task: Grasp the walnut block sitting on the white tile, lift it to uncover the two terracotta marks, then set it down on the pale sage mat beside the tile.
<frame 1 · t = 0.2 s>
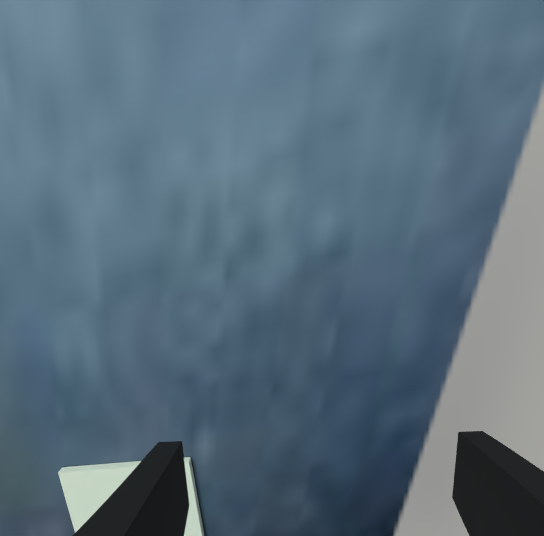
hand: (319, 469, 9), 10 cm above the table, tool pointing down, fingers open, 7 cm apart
sage mat: (138, 514, 21), on the table
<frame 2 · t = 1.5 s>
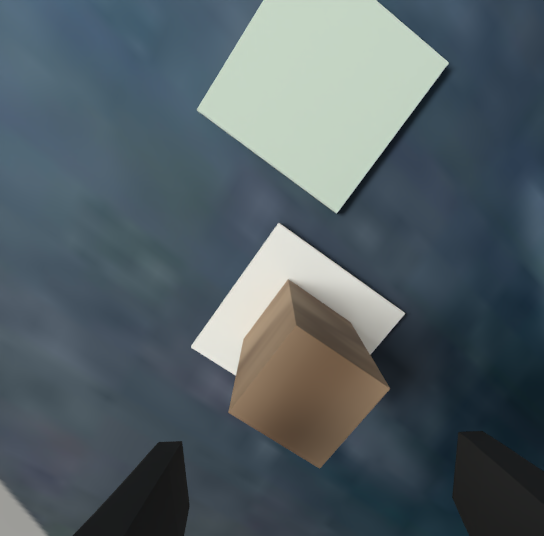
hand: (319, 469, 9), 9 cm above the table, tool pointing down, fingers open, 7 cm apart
sage mat: (319, 89, 15), on the table
white tile: (296, 327, 18), on the table
walnut block: (296, 330, 17), resting on white tile
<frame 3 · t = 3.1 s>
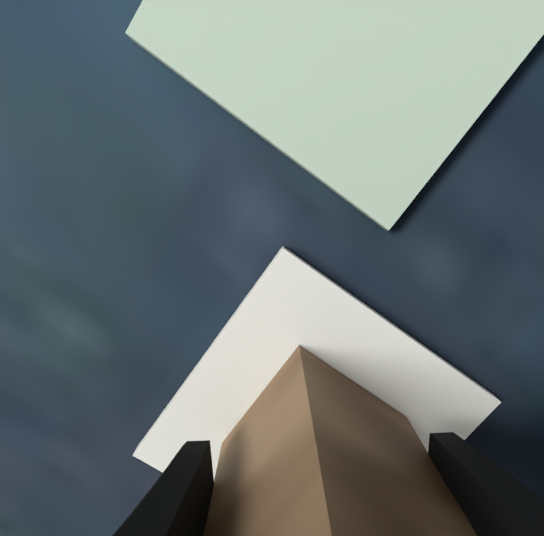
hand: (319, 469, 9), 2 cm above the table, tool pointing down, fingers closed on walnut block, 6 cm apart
white tile: (311, 420, 11), on the table
walnut block: (313, 429, 10), resting on white tile, touching gripper
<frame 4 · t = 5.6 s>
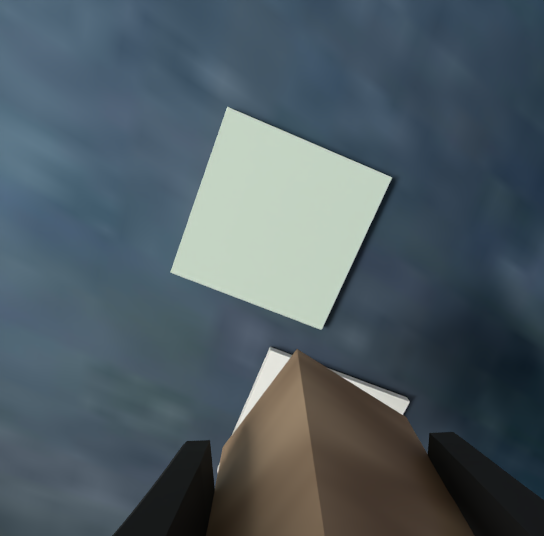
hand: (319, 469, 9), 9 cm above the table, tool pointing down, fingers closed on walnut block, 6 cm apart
sage mat: (277, 225, 16), on the table
white tile: (310, 432, 19), on the table
walnut block: (313, 432, 10), point 7 cm above the table, touching gripper
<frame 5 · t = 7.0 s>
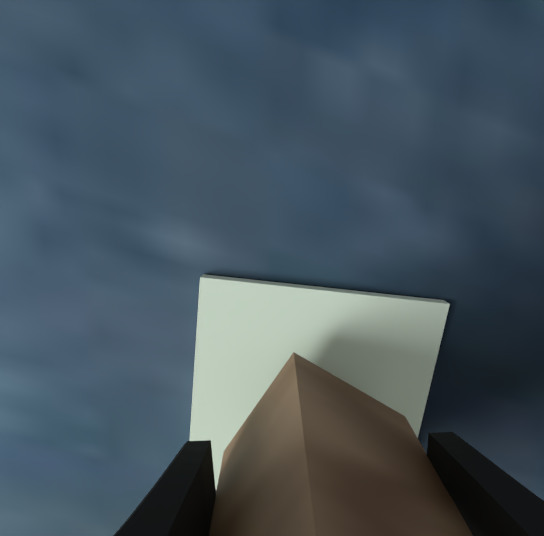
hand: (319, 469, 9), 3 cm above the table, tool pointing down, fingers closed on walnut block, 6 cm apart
sage mat: (307, 394, 12), on the table
walnut block: (312, 434, 10), point 2 cm above the table, touching gripper
when the fingers open (3 cm above the table, at t = 8.1 s): walnut block stays where it is, resting on sage mat.
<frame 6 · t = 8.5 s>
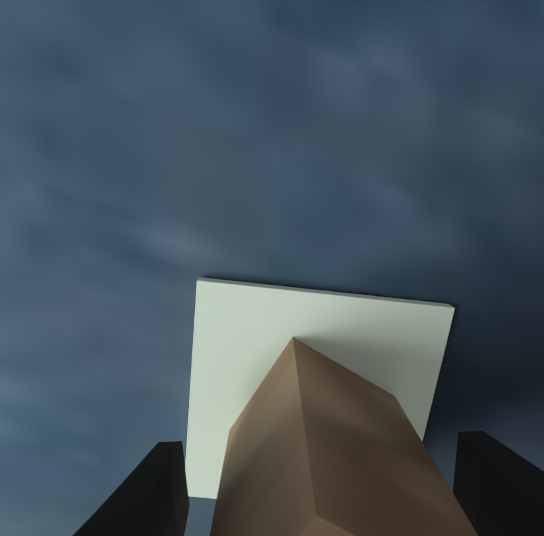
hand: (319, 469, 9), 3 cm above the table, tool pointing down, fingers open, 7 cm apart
sage mat: (308, 401, 12), on the table
walnut block: (310, 413, 11), resting on sage mat
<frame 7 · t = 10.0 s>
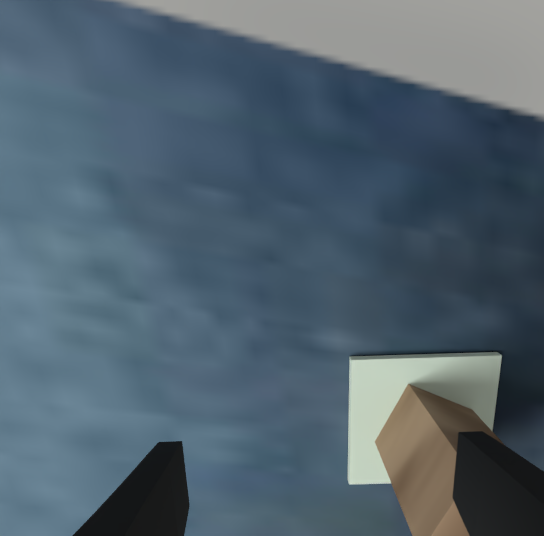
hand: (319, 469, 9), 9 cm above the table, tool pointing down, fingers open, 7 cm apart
sage mat: (418, 418, 19), on the table
walnut block: (422, 425, 19), resting on sage mat
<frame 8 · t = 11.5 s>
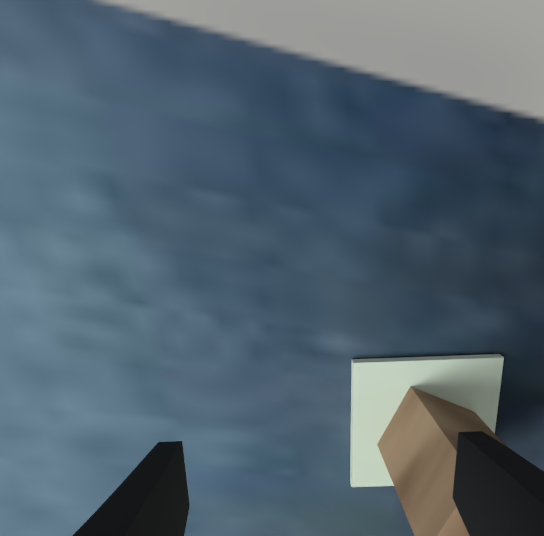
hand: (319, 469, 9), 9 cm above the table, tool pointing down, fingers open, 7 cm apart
sage mat: (420, 420, 19), on the table
walnut block: (425, 428, 19), resting on sage mat
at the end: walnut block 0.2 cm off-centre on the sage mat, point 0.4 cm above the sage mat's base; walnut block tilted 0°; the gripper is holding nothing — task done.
